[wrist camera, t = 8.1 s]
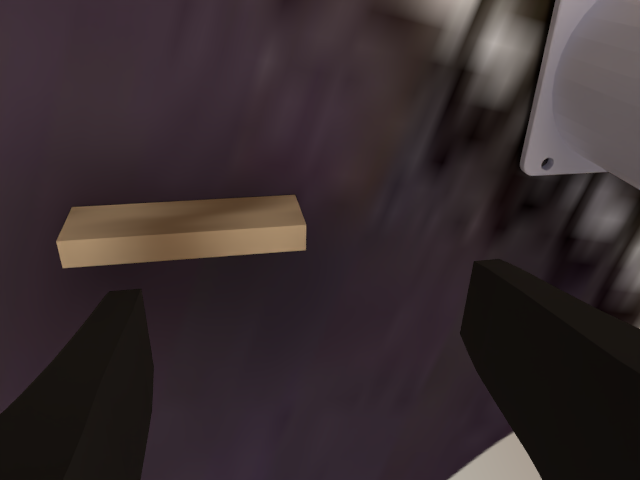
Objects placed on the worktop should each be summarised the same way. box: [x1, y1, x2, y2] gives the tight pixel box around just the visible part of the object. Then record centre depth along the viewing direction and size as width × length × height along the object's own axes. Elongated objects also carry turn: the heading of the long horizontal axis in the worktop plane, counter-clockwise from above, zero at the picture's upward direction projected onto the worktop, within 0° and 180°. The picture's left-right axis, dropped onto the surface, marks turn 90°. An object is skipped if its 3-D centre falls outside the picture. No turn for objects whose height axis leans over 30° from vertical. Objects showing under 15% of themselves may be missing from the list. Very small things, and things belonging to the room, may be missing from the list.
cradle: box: [56, 195, 306, 268], centre depth 17 cm, size 8×11×2 cm
